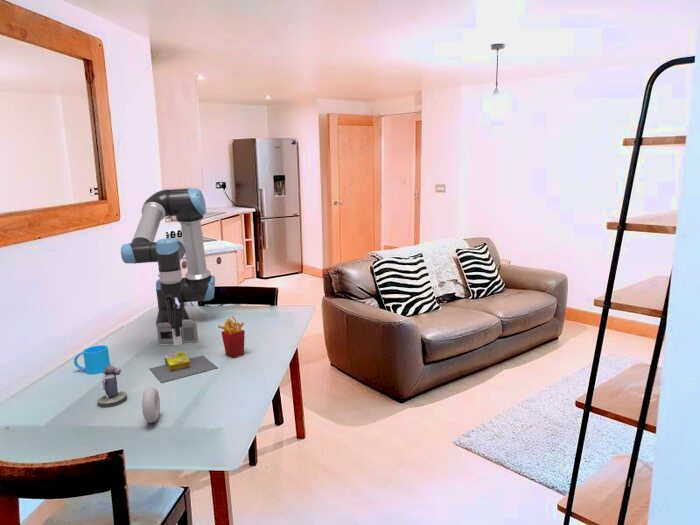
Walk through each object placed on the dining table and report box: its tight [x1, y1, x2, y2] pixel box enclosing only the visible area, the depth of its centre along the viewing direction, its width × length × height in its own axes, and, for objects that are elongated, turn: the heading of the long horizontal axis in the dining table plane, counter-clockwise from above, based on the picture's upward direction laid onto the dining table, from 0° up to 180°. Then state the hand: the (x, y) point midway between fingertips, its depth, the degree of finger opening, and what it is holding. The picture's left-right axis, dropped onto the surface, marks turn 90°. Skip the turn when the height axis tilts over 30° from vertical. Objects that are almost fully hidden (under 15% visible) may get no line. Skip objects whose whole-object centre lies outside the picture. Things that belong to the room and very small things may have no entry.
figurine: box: [96, 365, 128, 409], centre depth 156 cm, size 8×8×12 cm
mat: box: [149, 354, 218, 384], centre depth 182 cm, size 16×20×1 cm
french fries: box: [217, 316, 246, 359], centre depth 192 cm, size 9×8×15 cm
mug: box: [73, 344, 111, 375], centre depth 183 cm, size 12×8×8 cm
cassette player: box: [156, 318, 199, 345], centre depth 209 cm, size 16×3×10 cm, turn 93°
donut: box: [141, 386, 161, 424], centre depth 143 cm, size 10×3×10 cm, turn 11°
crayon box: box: [164, 351, 190, 371], centre depth 184 cm, size 7×3×12 cm
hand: (177, 344), depth 183 cm, fingers closed
